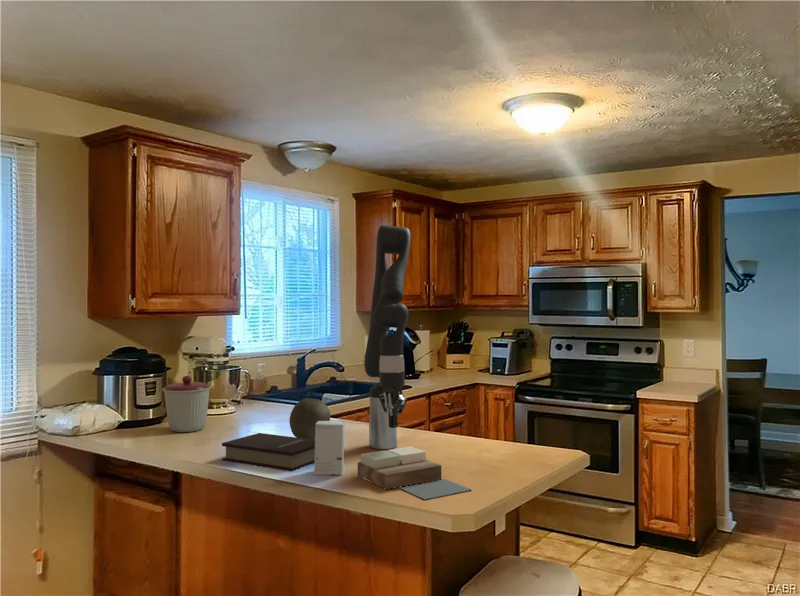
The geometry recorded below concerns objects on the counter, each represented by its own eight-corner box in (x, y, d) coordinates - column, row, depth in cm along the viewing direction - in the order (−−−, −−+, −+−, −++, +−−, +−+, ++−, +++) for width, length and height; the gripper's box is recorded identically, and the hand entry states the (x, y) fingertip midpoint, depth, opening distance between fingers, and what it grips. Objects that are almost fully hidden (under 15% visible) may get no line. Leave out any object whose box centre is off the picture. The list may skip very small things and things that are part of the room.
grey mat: (399, 488, 178) (399, 487, 178) (445, 480, 186) (444, 479, 186) (424, 500, 168) (424, 499, 168) (471, 490, 175) (471, 489, 175)
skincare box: (314, 475, 192) (313, 424, 191) (316, 470, 198) (316, 420, 197) (343, 475, 191) (342, 423, 191) (345, 469, 197) (344, 419, 197)
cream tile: (387, 458, 194) (387, 449, 194) (410, 454, 199) (410, 446, 199) (402, 464, 188) (402, 455, 188) (425, 460, 192) (425, 451, 192)
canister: (198, 435, 248) (198, 379, 248) (153, 434, 251) (153, 378, 251) (219, 425, 266) (218, 373, 266) (177, 424, 269) (176, 372, 269)
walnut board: (357, 476, 190) (357, 462, 190) (410, 467, 200) (410, 453, 200) (386, 489, 177) (386, 474, 177) (441, 479, 186) (441, 465, 186)
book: (330, 458, 213) (330, 440, 213) (292, 472, 196) (291, 452, 196) (263, 449, 227) (263, 431, 227) (222, 461, 210) (221, 443, 210)
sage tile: (360, 462, 190) (360, 454, 190) (384, 458, 194) (384, 450, 194) (374, 468, 183) (374, 459, 183) (399, 464, 187) (399, 455, 187)
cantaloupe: (303, 446, 228) (302, 403, 228) (282, 440, 239) (282, 398, 239) (337, 440, 237) (337, 398, 237) (316, 434, 248) (315, 394, 248)
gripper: (370, 369, 204) (371, 426, 204) (393, 372, 193) (394, 432, 193) (390, 367, 208) (392, 423, 208) (414, 370, 197) (415, 429, 197)
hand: (393, 427), depth 200 cm, fingers closed
